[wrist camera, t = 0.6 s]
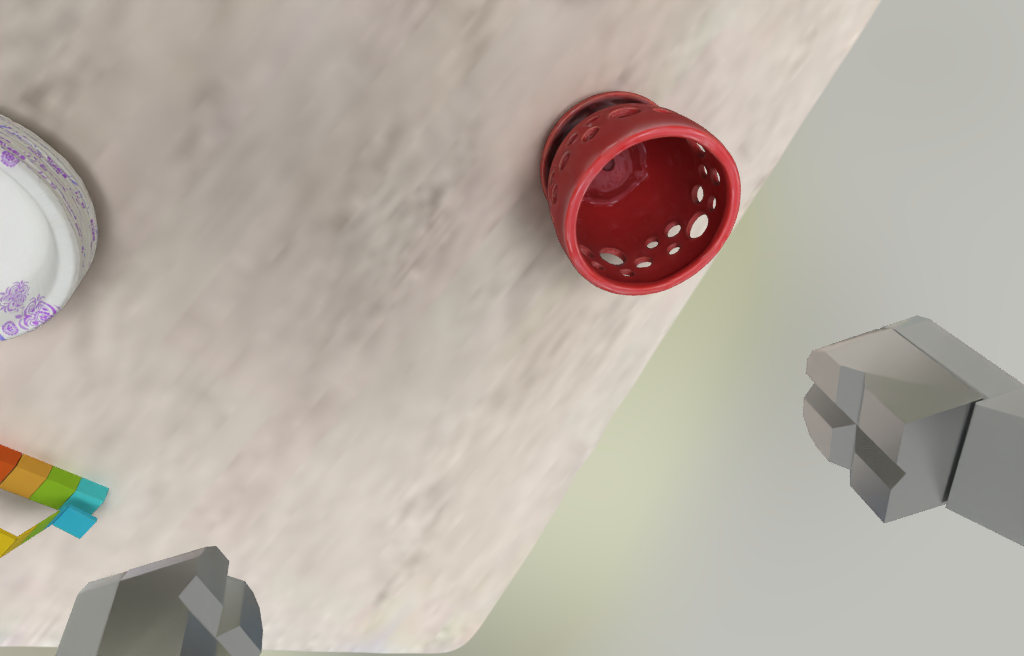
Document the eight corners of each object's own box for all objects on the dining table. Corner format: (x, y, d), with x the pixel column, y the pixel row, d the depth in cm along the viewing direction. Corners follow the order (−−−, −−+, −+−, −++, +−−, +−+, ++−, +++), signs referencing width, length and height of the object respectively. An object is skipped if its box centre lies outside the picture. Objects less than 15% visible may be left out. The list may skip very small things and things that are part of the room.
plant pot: (534, 75, 50) (584, 117, 40) (688, 87, 53) (769, 128, 43) (514, 233, 57) (553, 301, 47) (652, 234, 60) (715, 299, 50)
